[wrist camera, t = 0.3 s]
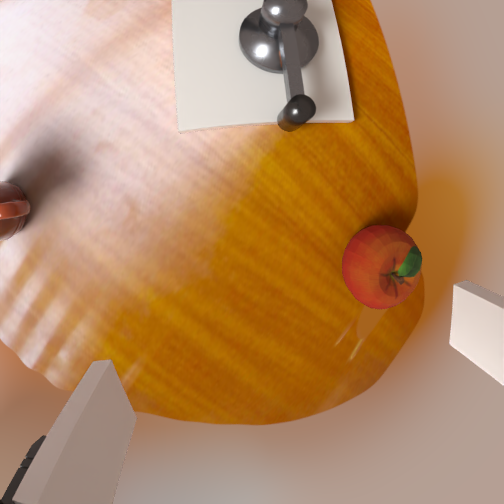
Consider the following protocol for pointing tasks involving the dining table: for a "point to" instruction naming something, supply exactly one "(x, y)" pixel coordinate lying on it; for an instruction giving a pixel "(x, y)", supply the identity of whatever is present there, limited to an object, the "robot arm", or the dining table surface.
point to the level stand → (248, 69)
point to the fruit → (381, 266)
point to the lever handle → (283, 52)
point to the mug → (12, 210)
